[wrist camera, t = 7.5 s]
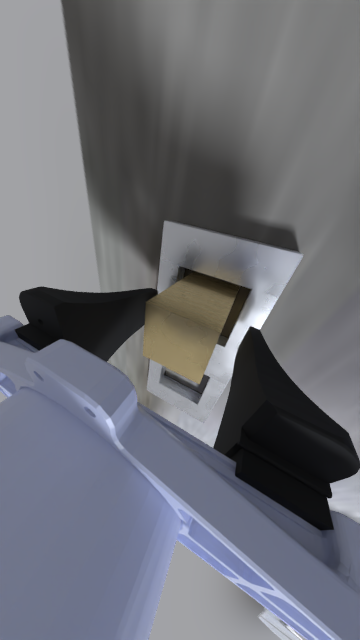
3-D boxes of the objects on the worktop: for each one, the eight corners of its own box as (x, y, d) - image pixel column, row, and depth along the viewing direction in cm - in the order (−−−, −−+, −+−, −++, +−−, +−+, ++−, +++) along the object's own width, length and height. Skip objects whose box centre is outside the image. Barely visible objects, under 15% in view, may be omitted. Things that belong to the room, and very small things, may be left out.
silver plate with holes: (173, 221, 12) (164, 220, 11) (299, 251, 10) (303, 255, 9) (152, 382, 25) (146, 390, 23) (207, 412, 22) (203, 423, 21)
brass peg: (240, 286, 13) (220, 332, 7) (223, 326, 15) (199, 384, 9) (193, 271, 14) (145, 301, 8) (185, 310, 16) (142, 355, 10)
